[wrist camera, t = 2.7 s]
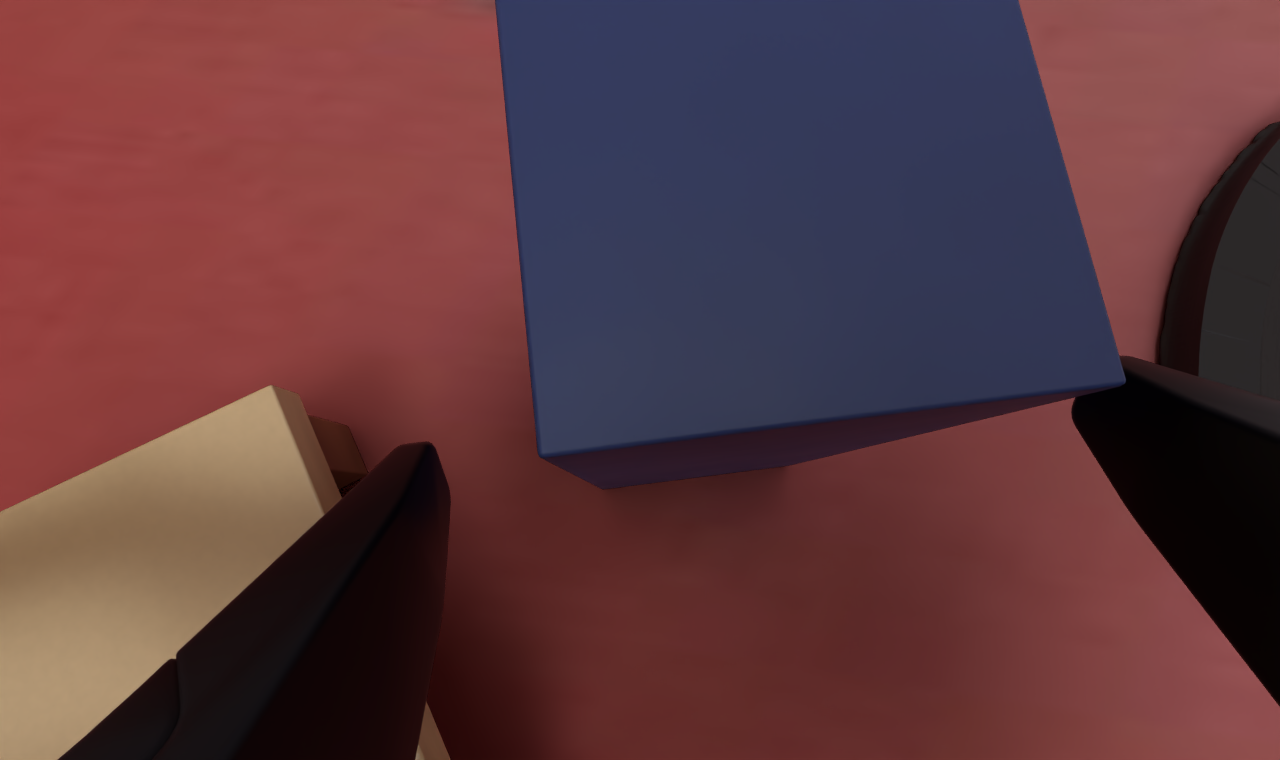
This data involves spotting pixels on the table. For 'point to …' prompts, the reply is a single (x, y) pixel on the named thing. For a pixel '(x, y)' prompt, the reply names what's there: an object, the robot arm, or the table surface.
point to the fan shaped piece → (1231, 279)
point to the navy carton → (787, 229)
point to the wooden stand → (154, 560)
